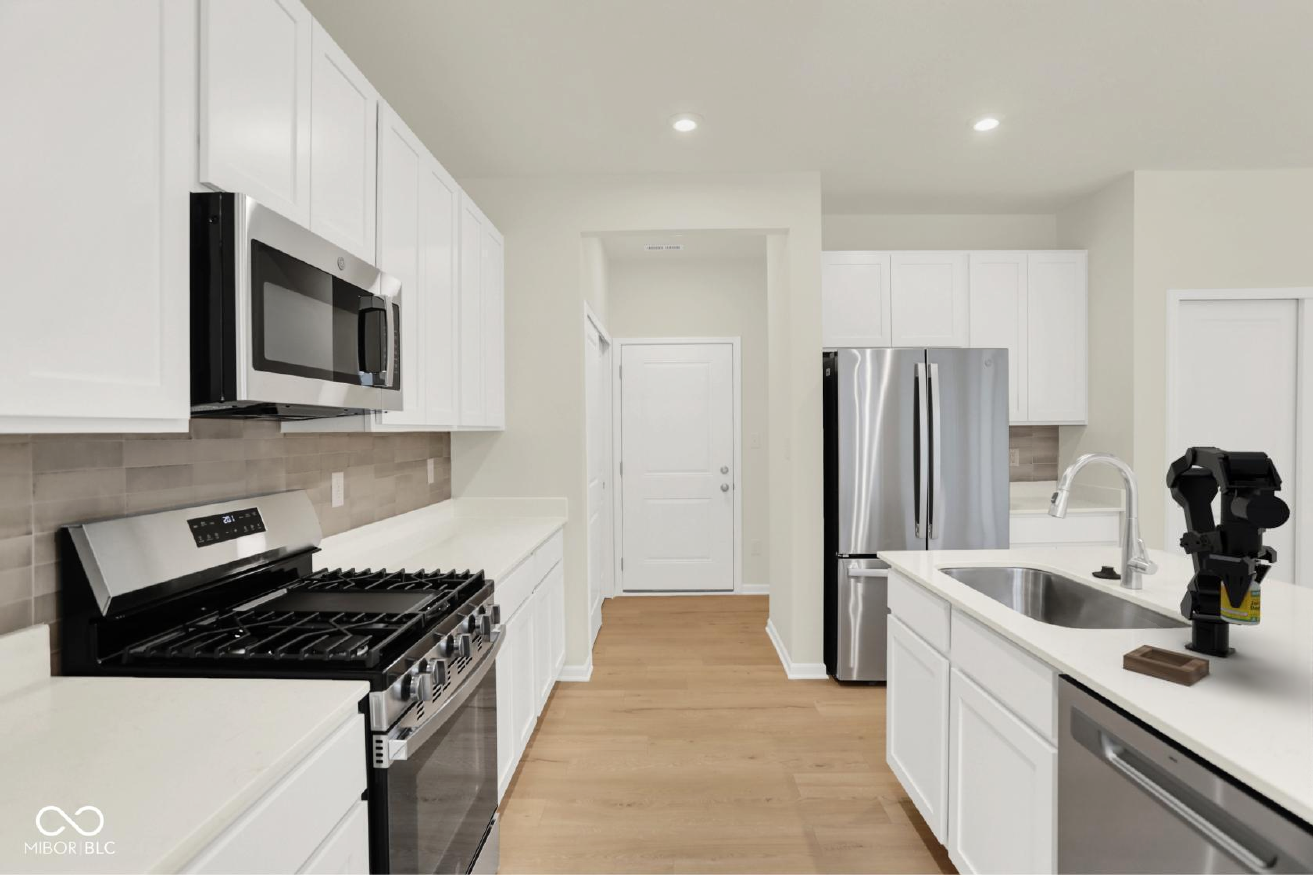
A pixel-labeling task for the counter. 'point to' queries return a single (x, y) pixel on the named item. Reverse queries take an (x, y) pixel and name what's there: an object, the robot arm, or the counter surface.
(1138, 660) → the socket block
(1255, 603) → the supplement bottle
